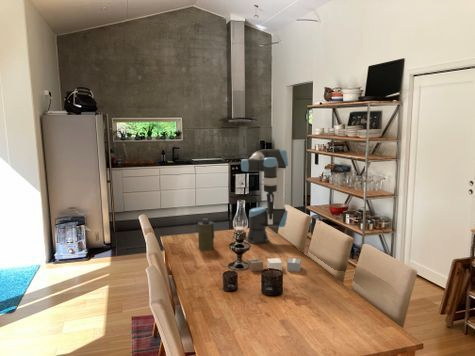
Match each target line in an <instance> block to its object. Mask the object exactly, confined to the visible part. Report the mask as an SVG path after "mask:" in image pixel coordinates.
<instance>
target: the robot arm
mask: <svg viewBox="0 0 475 356" xmlns="http://www.w3.org/2000/svg"><path fill="white" fill-rule="evenodd" d="M288 157H289V156H288V152H287V150H286V149H284V148H283V149H281V148H278V149H277V148H271V149H269V148H268V149H266V148H265V149H260V150H257V151H255V152H253V153H252V154H251V156H250V157H249V158H243V159H241V162H240V168H241V171H242V172H247V173H248V172H260V173H262V172H263V179H262V181H263V184H264V185H263V191H264V192H265V193H266V202H267V203H266V205H267V209H266V207H260V206H259V207H252V208H251V209H249V212H248V213H249V214H248V224H249V225H248V226H249V227H248V233H247V236H246V241H247V242H248V243H250V244H259V245H260V244H264V243H268V242H269V236H268V233H267V228H268V227H270V228H284V227H285V226H286V224H287V219H288V213H289V211H288V210H286V207H285V206H284V196H285V195H284V190H285V189H284V185H285V184H284V183H285V182H284V181H285V171H286V169H287V167H288V166H289V159H288ZM266 227H267V228H266Z"/></svg>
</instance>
